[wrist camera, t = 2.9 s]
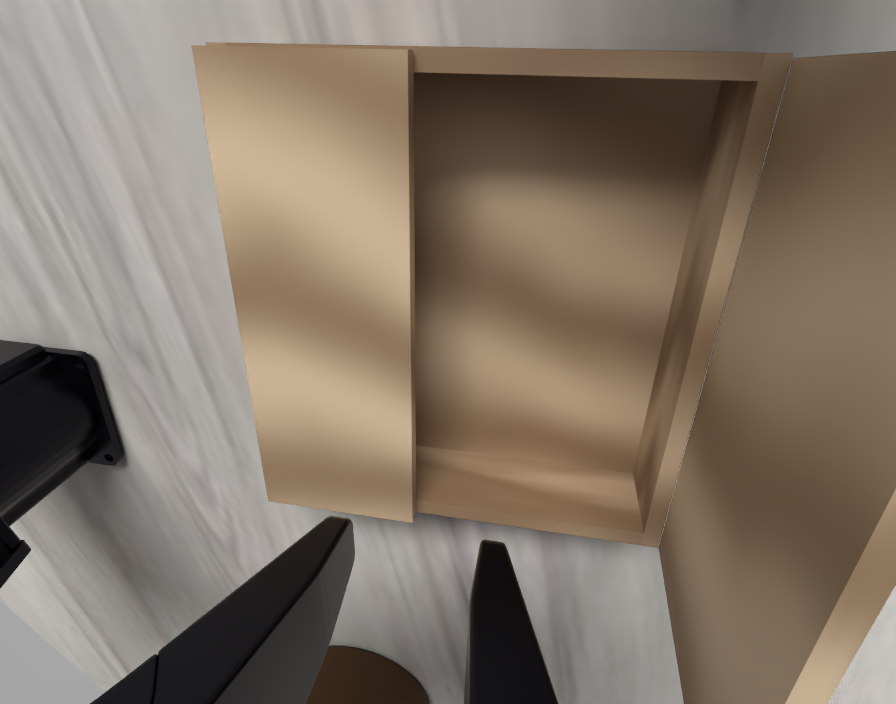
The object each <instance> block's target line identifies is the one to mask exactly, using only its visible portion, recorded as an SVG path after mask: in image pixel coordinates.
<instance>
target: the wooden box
mask: <svg viewBox="0 0 896 704" xmlns="http://www.w3.org/2000/svg"><path fill="white" fill-rule="evenodd" d="M206 46H248V47H298V48H349V49H400V50H413V72H414V238H415V404H416V512H420V513H427V514H434V515H441V516H447V517H454V518H461V519H468V520H474V521H481V522H488V523H495V524H501V525H508V526H515V527H522V528H528V529H535V530H542V531H549V532H555V533H562V534H569V535H576V536H582V537H589V538H596V539H603V540H609V541H616V542H623V543H630V544H636V545H643V546H650V547H656V548H658V545H659V541H660V538H661V534H662V531H663V527H664V523H665V520H666V516H667V512H668V509H669V505H670V501H671V498H672V494H673V490H674V487H675V483H676V479H677V476H678V472H679V468H680V465H681V461H682V457H683V454H684V450H685V447H686V443H687V439H688V436H689V432H690V428H691V425H692V421H693V417H694V414H695V410H696V406H697V403H698V399H699V395H700V392H701V388H702V384H703V381H704V377H705V373H706V370H707V366H708V363H709V359H710V355H711V352H712V348H713V344H714V341H715V337H716V333H717V330H718V326H719V322H720V319H721V315H722V311H723V308H724V304H725V300H726V297H727V293H728V289H729V286H730V282H731V279H732V275H733V271H734V268H735V264H736V260H737V257H738V253H739V249H740V246H741V242H742V238H743V235H744V231H745V227H746V224H747V220H748V216H749V213H750V209H751V206H752V202H753V198H754V195H755V191H756V187H757V184H758V180H759V176H760V173H761V169H762V165H763V162H764V158H765V154H766V151H767V147H768V143H769V140H770V136H771V132H772V129H773V125H774V122H775V118H776V114H777V111H778V107H779V103H780V100H781V96H782V92H783V89H784V85H785V81H786V78H787V74H788V70H789V67H790V63H791V59H792V56H793V53H749V52H695V51H642V50H589V49H536V48H482V47H429V46H376V45H322V44H269V43H216V42H206Z"/></svg>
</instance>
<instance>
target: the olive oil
mask: <svg viewBox="0 0 896 704" xmlns="http://www.w3.org/2000/svg"><path fill="white" fill-rule="evenodd" d="M305 704H429V701H428V698H427V696H426V694H425V692H424V690H423V689H422V687H421V686H420V684H419V683H418V682H417V681H416V680H415V679H414V678H413V677H412V676H411V675H410V674H409V673H408V672H407V671H405V670H404V669H403V668H401V667H400V666H398V665H397V664H395V663H394V662H392V661H390V660H388V659H386V658H384V657H382V656H379V655H377V654H374V653H372V652H369V651H365V650H361V649H357V648H352V647H344V646H329V647H328V650H327V652H326V655H325V657H324V660H323V663H322V665H321V667H320V670H319V672H318V675H317V677H316V679H315V682H314V684H313V687H312V689H311V691H310V694H309V696H308V699H307V701H306V703H305Z"/></svg>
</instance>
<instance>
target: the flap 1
mask: <svg viewBox="0 0 896 704" xmlns="http://www.w3.org/2000/svg"><path fill="white" fill-rule="evenodd" d="M192 51H193V57H194V63H195V69H196V75H197V81H198V87H199V93H200V98H201V104H202V110H203V116H204V122H205V128H206V134H207V140H208V146H209V152H210V158H211V164H212V170H213V176H214V182H215V188H216V193H217V199H218V205H219V211H220V217H221V223H222V229H223V235H224V241H225V247H226V253H227V259H228V265H229V271H230V277H231V282H232V288H233V294H234V300H235V306H236V312H237V318H238V324H239V330H240V336H241V342H242V348H243V354H244V360H245V366H246V371H247V377H248V383H249V389H250V395H251V401H252V407H253V413H254V419H255V425H256V431H257V437H258V443H259V449H260V455H261V460H262V466H263V472H264V478H265V484H266V490H267V496H268V501H271V502H278V503H284V504H291V505H298V506H304V507H311V508H317V509H324V510H331V511H337V512H344V513H350V514H357V515H364V516H370V517H377V518H383V519H390V520H397V521H403V522H410V523H413V520H414V517H415V514H416V404H415V238H414V72H413V50H400V49H349V48H298V47H248V46H197V45H192Z"/></svg>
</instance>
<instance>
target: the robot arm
mask: <svg viewBox="0 0 896 704" xmlns="http://www.w3.org/2000/svg"><path fill="white" fill-rule="evenodd" d="M81 362H82V363H81ZM122 459H123V453H122V450H121V447H120V443H119V440H118V437H117V434H116V431H115V427H114V424H113V421H112V418H111V415H110V411H109V408H108V405H107V402H106V399H105V395H104V392H103V389H102V386H101V383H100V379H99V376H98V373H97V370H96V367H95V363H94V361H93V359H92V357H91V356H90V355H89V354H87V353H86V352H82V351H75V350H66V349H57V348H49V347H43V346H40V345H38V344H29V343H21V342H12V341H3V340H0V588H1V587H2V586H3V584H4V583H5V582H6V581H7V580H8V578H9V577H10V576H11V575H12V573H13V572H14V571H15V570H16V568H17V567H18V566H19V565H20V563H21V562H22V561H23V560H24V558H25V557H26V556H27V555H28V553H29V552H30V551H31V548H30V547H29V546H28V544H27V543H26V542H25V541H24V540H20V539H19V538H18V536H17V535H16V534H15V533H14V532H13V530H12V529H11V528H10V527H9V526H11V525H12V524H13V523H14V522H16V521H17V520H18V519H19V518H20V517H22V516H23V515H24V514H25V513H26V512H28V511H29V510H30V509H31V508H32V507H34V506H35V505H36V504H37V503H38V502H40V501H41V500H42V499H43V498H45V497H46V496H47V495H48V494H49V493H51V492H52V491H53V490H54V489H55V488H57V487H58V486H59V485H60V484H61V483H63V482H64V481H65V480H66V479H68V478H69V477H70V476H71V475H72V474H74V473H75V472H76V471H77V470H78V469H80V468H81V467H82V466H83V465H84V464H86V463H87V462H91V463H98V464H105V465H116V464H117V463H119V462H120V461H121V460H122ZM354 557H355V547H354V534H353V524H352V521H351V520H350V519H348V518H341V517H335V516H330V517H328V518H326V519H324V520H323V521H322V522H321V523H319V524H318V525H317V526H316V527H314V528H313V529H312V530H311V531H309V532H308V533H307V534H306V535H304V536H303V537H302V538H301V539H299V540H298V541H297V542H296V543H294V544H293V545H292V546H290V547H289V548H288V549H287V550H285V551H284V552H283V553H282V554H280V555H279V556H278V557H277V558H275V559H274V560H273V561H272V562H270V563H269V564H268V565H267V566H265V567H264V568H263V569H261V570H260V571H259V572H258V573H256V574H255V575H254V576H253V577H251V578H250V579H249V580H248V581H246V582H245V583H244V584H243V585H241V586H240V587H239V588H238V589H236V590H235V591H234V592H233V593H231V594H230V595H229V596H227V597H226V598H225V599H224V600H222V601H221V602H220V603H219V604H217V605H216V606H215V607H214V608H212V609H211V610H210V611H209V612H207V613H206V614H205V615H204V616H202V617H201V618H200V619H198V620H197V621H196V622H195V623H193V624H192V625H191V626H190V627H188V628H187V629H186V630H185V631H183V632H182V633H181V634H180V635H178V636H177V637H176V638H175V639H173V640H172V641H171V642H170V643H168V644H167V645H166V646H164V647H163V648H162V649H161V650H160V651H159V653H158V655H157V654H155V655H153V656H152V657H150V658H149V659H148V660H147V661H145V662H144V663H143V664H141V665H140V666H139V667H138V668H136V669H135V670H134V671H133V672H131V673H130V674H129V675H127V676H126V677H125V678H123V679H122V680H121V681H120V682H118V683H117V684H116V685H114V686H113V687H112V688H110V689H109V690H108V691H106V692H105V693H104V694H102V696H100V697H99V698H97V699H96V700H94V701H93V702H92V703H90V704H305V703H306V701H307V699H308V696H309V694H310V691H311V689H312V687H313V684H314V682H315V679H316V677H317V675H318V672H319V670H320V667H321V665H322V663H323V660H324V657H325V655H326V652H327V650H328V647H329V644H330V641H331V637H332V634H333V631H334V627H335V624H336V621H337V617H338V614H339V611H340V607H341V604H342V601H343V597H344V594H345V591H346V587H347V584H348V581H349V577H350V574H351V571H352V567H353V563H354ZM464 704H558V701H557V698H556V695H555V692H554V689H553V686H552V683H551V680H550V677H549V674H548V671H547V668H546V665H545V662H544V659H543V656H542V653H541V650H540V647H539V644H538V641H537V638H536V635H535V632H534V629H533V626H532V623H531V620H530V617H529V614H528V611H527V608H526V605H525V602H524V599H523V596H522V593H521V590H520V587H519V584H518V581H517V578H516V575H515V572H514V569H513V566H512V563H511V560H510V557H509V554H508V551H507V548H506V546H505V544H504V543H502V542H497V541H490V540H482V541H481V544H480V548H479V553H478V558H477V564H476V569H475V574H474V580H473V585H472V590H471V597H470V608H469V625H468V641H467V658H466V674H465V696H464Z"/></svg>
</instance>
